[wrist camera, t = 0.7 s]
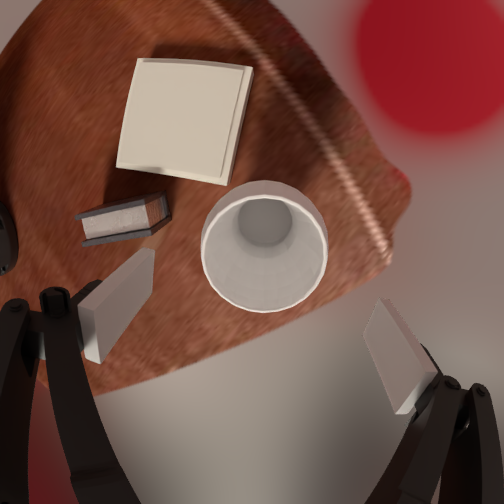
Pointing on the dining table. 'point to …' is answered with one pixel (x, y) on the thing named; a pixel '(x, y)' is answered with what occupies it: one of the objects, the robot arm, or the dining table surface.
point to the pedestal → (184, 118)
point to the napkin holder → (125, 218)
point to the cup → (264, 246)
